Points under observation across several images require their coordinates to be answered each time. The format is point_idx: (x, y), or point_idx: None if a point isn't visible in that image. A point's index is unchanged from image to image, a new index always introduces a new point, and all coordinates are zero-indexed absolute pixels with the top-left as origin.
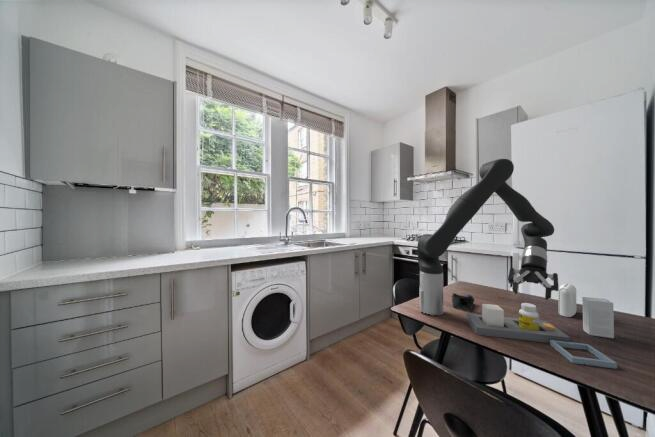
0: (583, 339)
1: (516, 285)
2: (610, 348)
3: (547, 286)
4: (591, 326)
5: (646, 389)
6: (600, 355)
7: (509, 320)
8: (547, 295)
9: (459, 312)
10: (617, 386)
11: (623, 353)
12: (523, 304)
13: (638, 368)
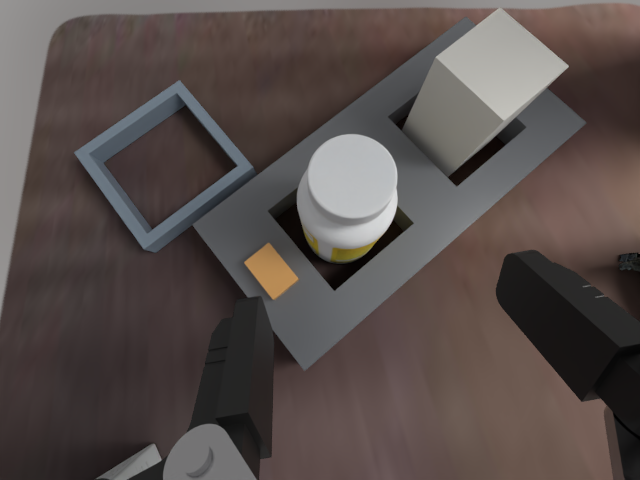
0: (173, 351)
1: (586, 304)
2: (93, 337)
3: (222, 445)
4: (117, 471)
5: (44, 97)
6: (114, 185)
7: (420, 207)
8: (239, 307)
9: (636, 201)
10: (97, 55)
11: (60, 324)
12: (379, 156)
13: (38, 222)
